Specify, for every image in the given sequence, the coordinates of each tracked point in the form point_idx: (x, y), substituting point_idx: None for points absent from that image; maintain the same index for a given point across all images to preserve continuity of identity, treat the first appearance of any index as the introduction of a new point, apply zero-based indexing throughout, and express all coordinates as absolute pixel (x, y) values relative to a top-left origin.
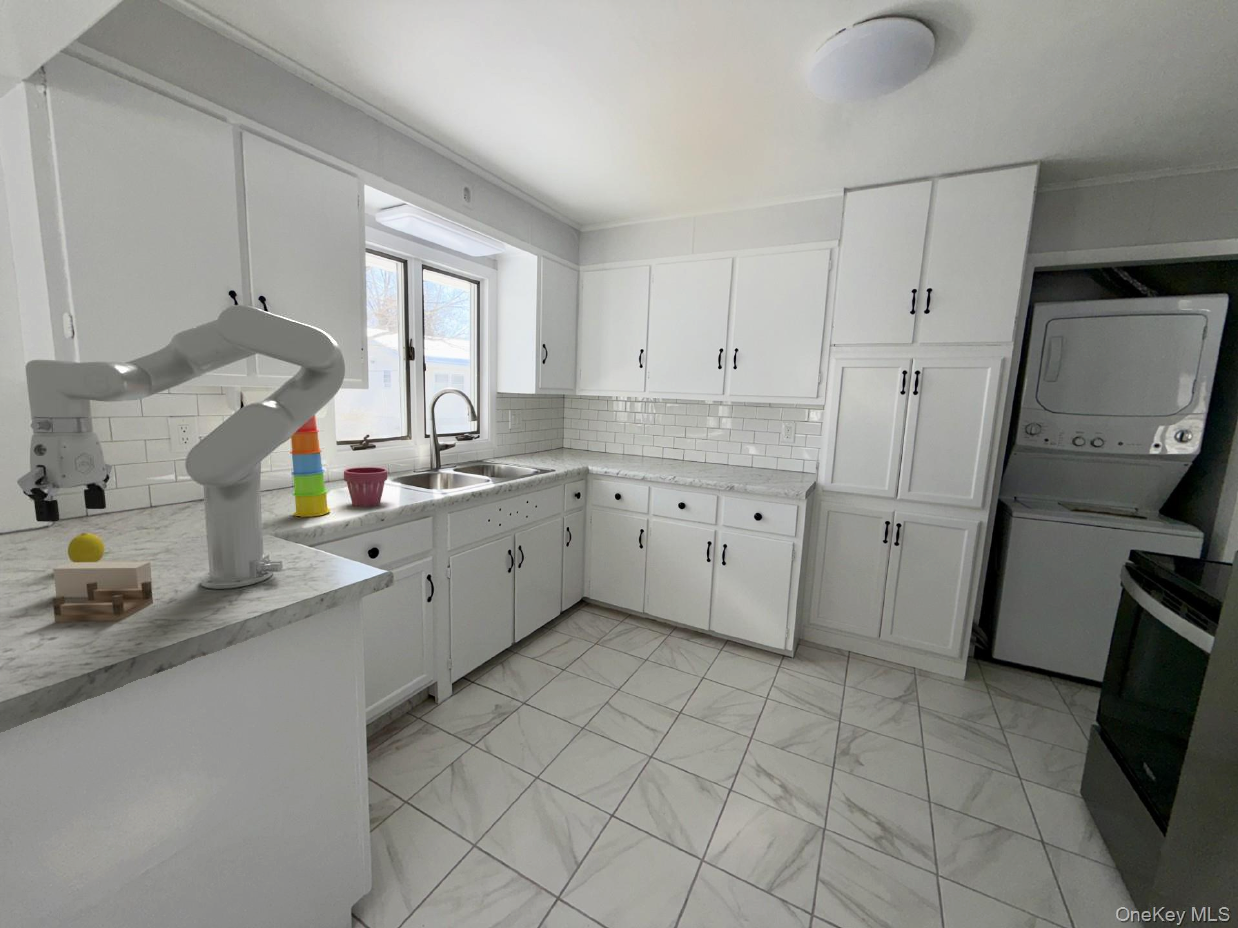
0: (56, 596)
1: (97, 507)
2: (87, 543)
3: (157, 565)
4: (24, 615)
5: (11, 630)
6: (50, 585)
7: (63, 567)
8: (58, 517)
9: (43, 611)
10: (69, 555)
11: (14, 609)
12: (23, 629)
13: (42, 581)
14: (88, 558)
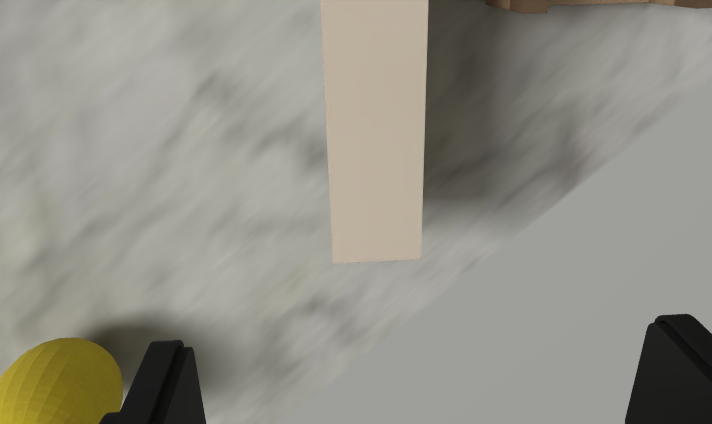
0: (703, 6)
1: (193, 386)
2: (66, 406)
3: (4, 108)
4: (564, 160)
5: (695, 88)
6: (285, 312)
7: (406, 231)
8: (680, 328)
9: (536, 130)
10: None
11: (503, 234)
12: (697, 56)
13: (249, 365)
14: (99, 354)
